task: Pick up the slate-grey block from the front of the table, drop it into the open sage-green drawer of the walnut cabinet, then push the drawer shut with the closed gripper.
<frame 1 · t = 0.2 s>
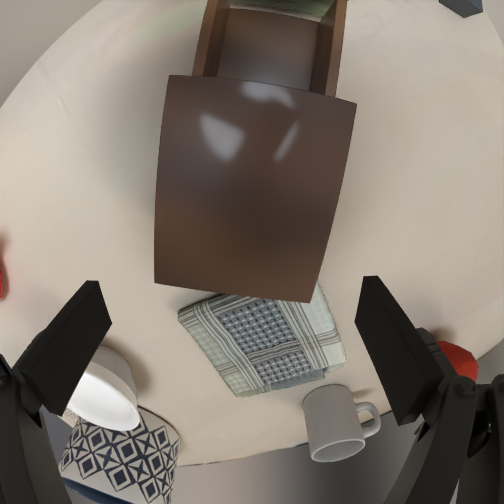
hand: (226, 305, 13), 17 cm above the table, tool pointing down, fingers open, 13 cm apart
apple: (426, 348, 38), on the table
drawer: (273, 24, 17), point 5 cm above the table, slide at 10.5 cm
bowl: (108, 363, 39), on the table
mug: (336, 395, 42), on the table
dish towel: (268, 337, 36), on the table
planter: (131, 425, 48), on the table
cabinet: (248, 175, 27), on the table
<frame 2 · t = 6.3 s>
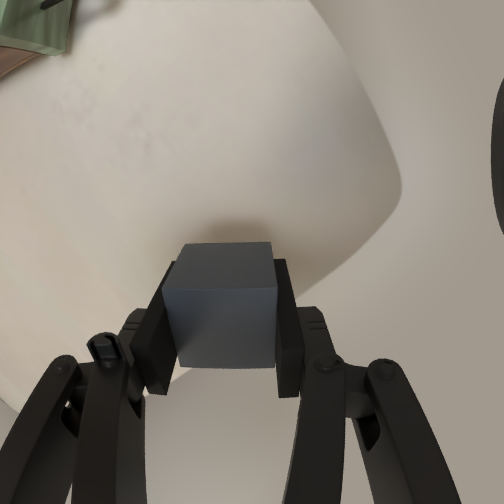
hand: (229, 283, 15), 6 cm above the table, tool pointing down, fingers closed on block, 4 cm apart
block: (229, 280, 15), point 6 cm above the table, touching gripper
drawer: (2, 11, 7), point 5 cm above the table, slide at 10.5 cm
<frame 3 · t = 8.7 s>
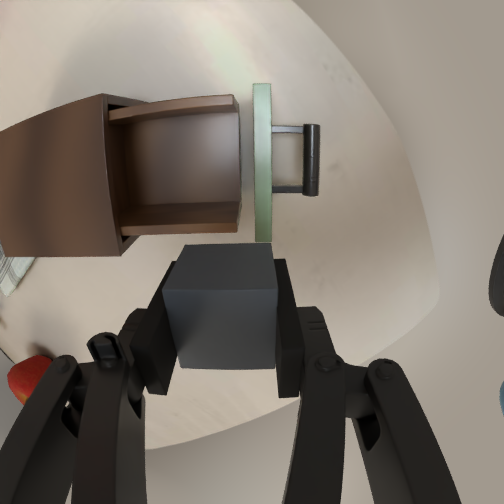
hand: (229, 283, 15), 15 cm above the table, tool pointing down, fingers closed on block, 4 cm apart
block: (229, 281, 15), point 15 cm above the table, touching gripper
apple: (50, 361, 41), on the table
drawer: (205, 161, 22), point 5 cm above the table, slide at 10.5 cm
dish towel: (1, 226, 29), on the table
cabinet: (89, 169, 27), on the table
when the fingers open (11 cm above the table, at t = 11.2 s): block drops 8 cm, resting on drawer.
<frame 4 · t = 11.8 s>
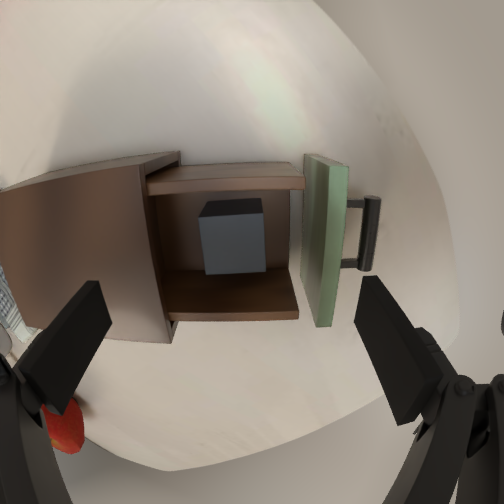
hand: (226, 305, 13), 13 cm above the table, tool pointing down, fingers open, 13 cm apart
block: (236, 224, 23), point 2 cm above the table, touching drawer
apple: (70, 398, 39), on the table
drawer: (259, 235, 21), point 5 cm above the table, slide at 10.5 cm, touching block
mug: (3, 338, 34), on the table
dish towel: (9, 271, 28), on the table
cabinet: (111, 223, 25), on the table
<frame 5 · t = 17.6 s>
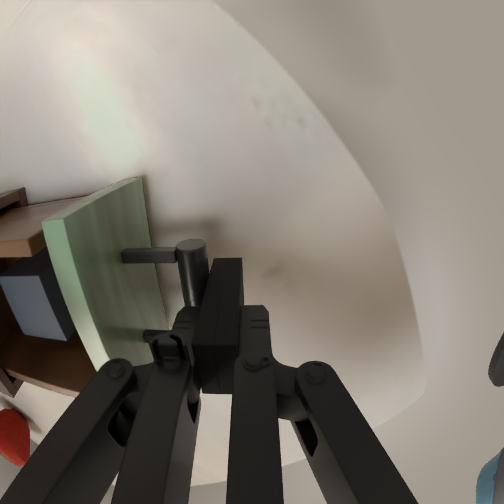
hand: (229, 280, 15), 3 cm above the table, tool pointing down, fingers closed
block: (63, 274, 16), point 2 cm above the table, touching drawer
apple: (19, 413, 32), on the table
drawer: (62, 295, 14), point 5 cm above the table, slide at 9.9 cm, touching block, gripper
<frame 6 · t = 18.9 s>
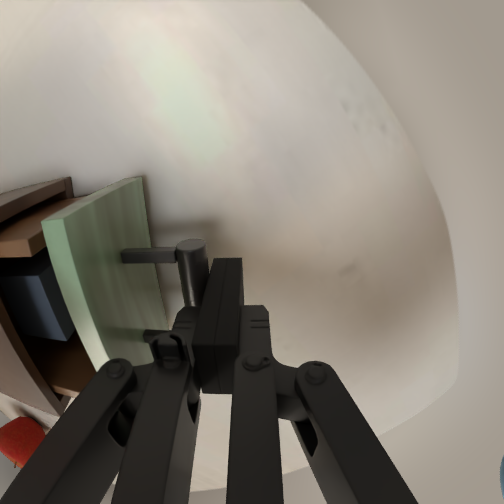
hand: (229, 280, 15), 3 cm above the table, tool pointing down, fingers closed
block: (63, 274, 16), point 2 cm above the table, touching drawer
apple: (35, 421, 32), on the table
drawer: (61, 295, 14), point 5 cm above the table, slide at 4.7 cm, touching block, gripper
cabinet: (23, 261, 18), on the table
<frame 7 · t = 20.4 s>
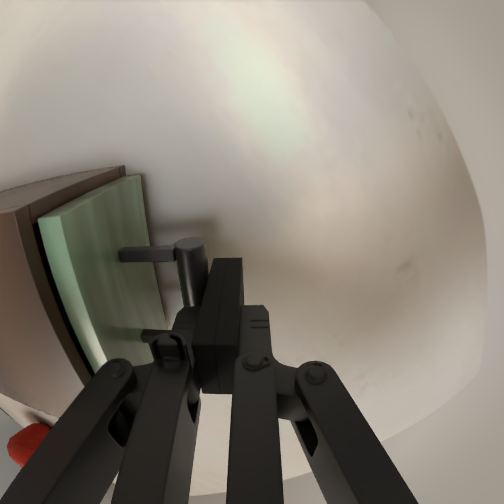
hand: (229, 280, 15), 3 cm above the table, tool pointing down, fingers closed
block: (61, 273, 16), point 2 cm above the table, touching drawer
apple: (49, 427, 32), on the table
drawer: (59, 295, 13), point 5 cm above the table, slide at 0.2 cm, touching block, gripper
cabinet: (54, 260, 18), on the table
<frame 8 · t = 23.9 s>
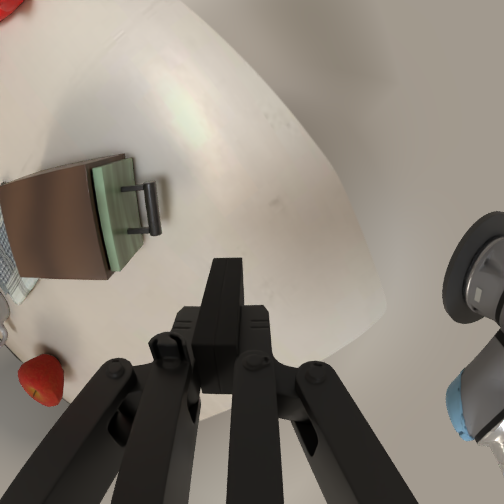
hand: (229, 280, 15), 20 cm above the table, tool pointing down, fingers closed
apple: (55, 359, 48), on the table
drawer: (89, 214, 29), point 5 cm above the table, slide at 0.2 cm, touching block
mug: (2, 307, 43), on the table
dish towel: (11, 246, 37), on the table
cabinet: (83, 206, 34), on the table
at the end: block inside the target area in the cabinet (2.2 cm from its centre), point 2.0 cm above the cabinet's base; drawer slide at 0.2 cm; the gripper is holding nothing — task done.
